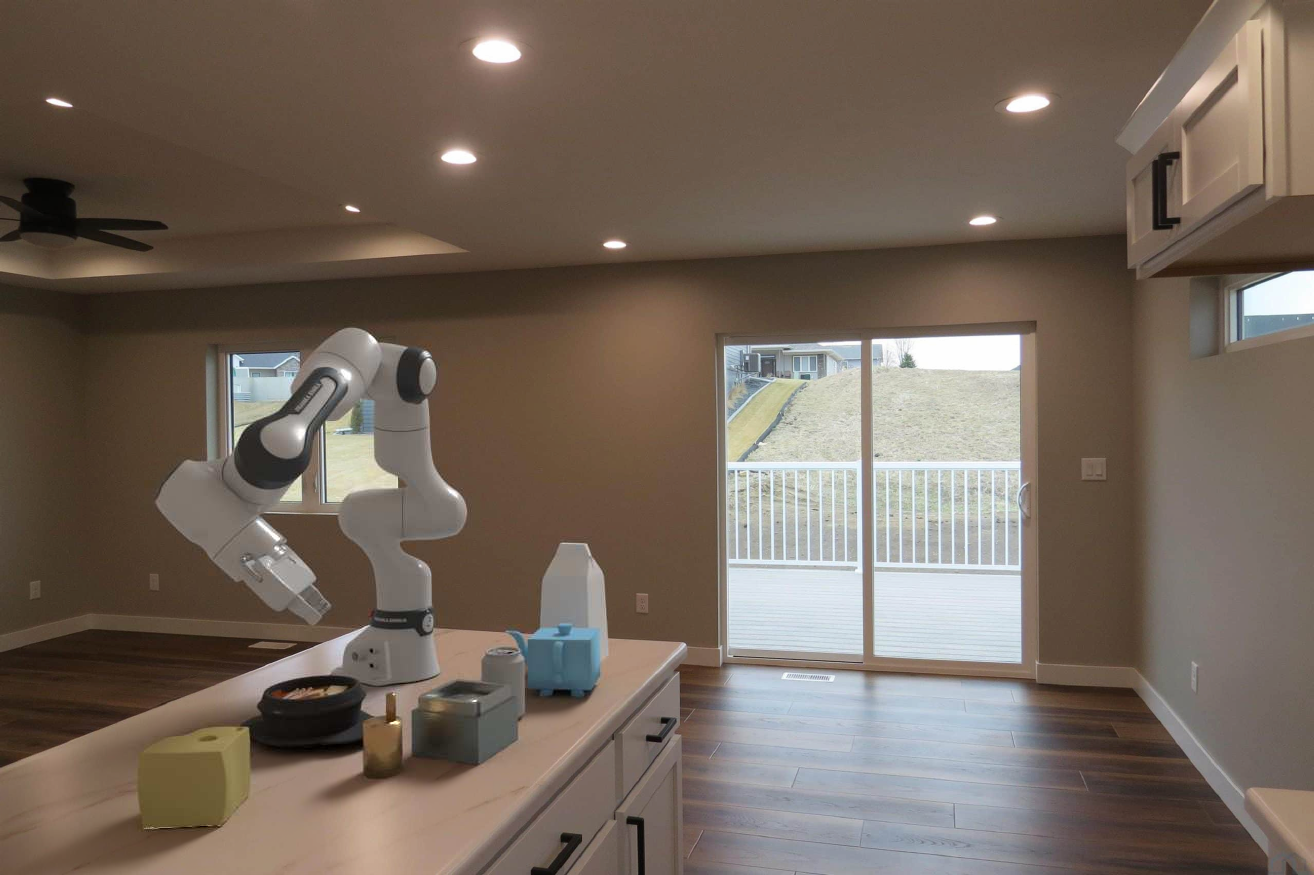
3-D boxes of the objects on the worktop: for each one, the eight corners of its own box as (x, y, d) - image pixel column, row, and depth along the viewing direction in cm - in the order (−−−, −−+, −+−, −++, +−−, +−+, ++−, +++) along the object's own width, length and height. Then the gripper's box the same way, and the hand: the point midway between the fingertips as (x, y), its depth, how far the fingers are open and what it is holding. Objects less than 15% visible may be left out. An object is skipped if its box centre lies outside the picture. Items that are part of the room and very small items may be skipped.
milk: (538, 666, 190) (537, 546, 190) (559, 653, 201) (558, 539, 201) (590, 670, 186) (589, 547, 186) (609, 657, 197) (608, 541, 197)
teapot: (602, 679, 179) (601, 616, 179) (589, 702, 163) (588, 633, 163) (515, 678, 181) (515, 615, 181) (494, 700, 165) (493, 632, 165)
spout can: (361, 780, 127) (360, 701, 127) (365, 766, 132) (364, 690, 132) (401, 777, 128) (400, 698, 128) (403, 763, 134) (403, 687, 134)
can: (516, 725, 151) (515, 655, 151) (475, 723, 152) (474, 653, 152) (530, 712, 158) (530, 645, 158) (491, 709, 160) (491, 643, 160)
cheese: (174, 799, 121) (173, 726, 121) (255, 796, 122) (254, 724, 122) (136, 833, 111) (135, 753, 111) (225, 829, 112) (224, 750, 112)
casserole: (208, 748, 141) (208, 696, 141) (290, 713, 159) (290, 667, 159) (339, 765, 133) (339, 709, 133) (410, 726, 151) (409, 677, 151)
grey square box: (411, 755, 137) (411, 697, 137) (455, 731, 148) (454, 677, 148) (478, 764, 133) (478, 705, 133) (518, 739, 144) (517, 684, 144)
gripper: (253, 542, 120) (329, 611, 121) (281, 532, 139) (346, 591, 141) (217, 576, 118) (295, 645, 120) (251, 561, 138) (317, 620, 140)
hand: (323, 616), depth 131 cm, fingers open, 8 cm apart
